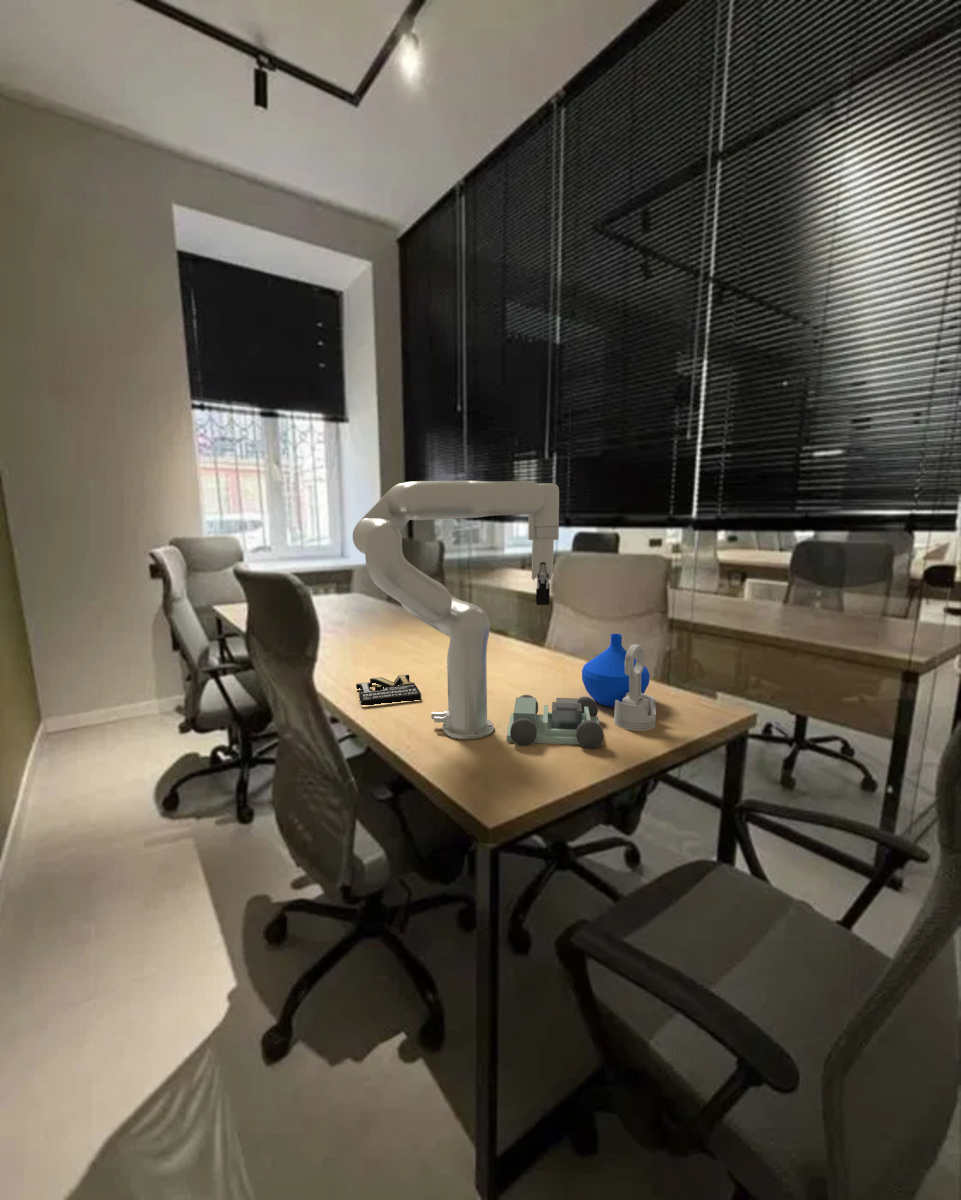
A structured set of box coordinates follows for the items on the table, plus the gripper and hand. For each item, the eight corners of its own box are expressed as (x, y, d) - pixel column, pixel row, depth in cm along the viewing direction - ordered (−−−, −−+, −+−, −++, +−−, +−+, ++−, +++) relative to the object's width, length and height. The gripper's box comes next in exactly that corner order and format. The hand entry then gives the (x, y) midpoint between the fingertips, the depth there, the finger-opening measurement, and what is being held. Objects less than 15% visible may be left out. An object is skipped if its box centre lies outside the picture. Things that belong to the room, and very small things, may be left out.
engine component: (661, 721, 140) (624, 712, 146) (665, 643, 136) (627, 637, 143) (644, 735, 131) (605, 725, 138) (647, 652, 128) (607, 645, 134)
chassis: (505, 745, 127) (505, 718, 126) (511, 716, 144) (511, 692, 143) (603, 749, 124) (604, 721, 123) (596, 719, 142) (597, 695, 141)
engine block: (551, 730, 131) (552, 704, 130) (551, 721, 137) (552, 696, 136) (581, 731, 131) (582, 704, 130) (580, 722, 136) (580, 697, 135)
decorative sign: (361, 700, 152) (354, 679, 170) (361, 709, 152) (355, 687, 171) (421, 694, 157) (408, 674, 176) (422, 702, 157) (409, 682, 176)
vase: (593, 687, 167) (594, 625, 164) (655, 696, 158) (657, 631, 155) (571, 706, 151) (572, 638, 148) (639, 717, 142) (641, 645, 139)
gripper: (529, 532, 147) (529, 596, 149) (526, 535, 130) (526, 607, 132) (558, 532, 146) (557, 596, 148) (559, 535, 129) (558, 607, 131)
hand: (543, 601), depth 140 cm, fingers open, 9 cm apart
